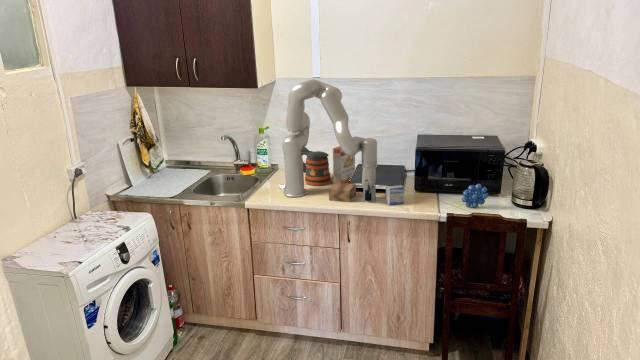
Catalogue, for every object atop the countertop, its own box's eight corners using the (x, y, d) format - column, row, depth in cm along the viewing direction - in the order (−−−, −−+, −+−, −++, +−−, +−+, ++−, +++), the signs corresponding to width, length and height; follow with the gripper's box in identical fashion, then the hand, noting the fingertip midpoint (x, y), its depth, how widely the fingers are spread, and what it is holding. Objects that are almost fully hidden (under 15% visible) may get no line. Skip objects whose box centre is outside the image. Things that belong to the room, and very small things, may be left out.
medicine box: (389, 205, 228) (389, 188, 226) (385, 202, 232) (385, 186, 230) (404, 203, 230) (404, 186, 228) (400, 200, 234) (400, 184, 232)
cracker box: (342, 186, 257) (341, 149, 251) (333, 184, 261) (332, 148, 254) (356, 179, 268) (355, 143, 261) (347, 178, 271) (346, 142, 265)
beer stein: (293, 184, 264) (291, 149, 258) (304, 176, 277) (303, 143, 271) (324, 187, 257) (323, 151, 251) (334, 179, 270) (333, 145, 264)
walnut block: (329, 200, 238) (328, 189, 236) (335, 193, 248) (335, 182, 246) (350, 202, 234) (349, 191, 232) (355, 194, 244) (355, 183, 242)
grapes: (486, 205, 224) (488, 181, 221) (487, 210, 218) (489, 186, 214) (461, 203, 228) (462, 180, 224) (461, 208, 221) (462, 184, 218)
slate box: (363, 201, 235) (363, 188, 233) (365, 197, 239) (365, 184, 237) (373, 202, 233) (373, 188, 231) (375, 198, 238) (375, 185, 236)
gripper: (366, 158, 239) (366, 192, 245) (357, 168, 224) (357, 203, 230) (380, 159, 237) (380, 193, 243) (372, 169, 222) (372, 205, 227)
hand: (369, 198), depth 236 cm, fingers closed on slate box, 5 cm apart
